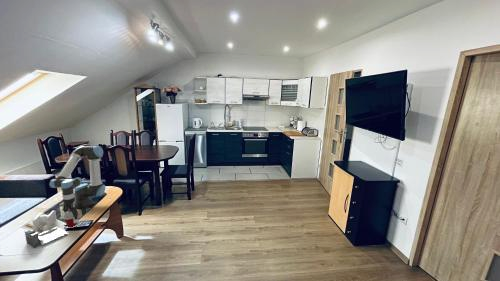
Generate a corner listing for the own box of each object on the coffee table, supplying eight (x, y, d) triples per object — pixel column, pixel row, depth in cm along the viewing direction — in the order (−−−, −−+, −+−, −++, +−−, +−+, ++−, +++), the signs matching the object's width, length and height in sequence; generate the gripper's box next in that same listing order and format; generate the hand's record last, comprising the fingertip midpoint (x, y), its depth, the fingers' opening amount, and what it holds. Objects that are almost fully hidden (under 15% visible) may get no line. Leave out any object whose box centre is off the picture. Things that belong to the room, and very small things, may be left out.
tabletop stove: (58, 228, 183) (56, 215, 181) (68, 234, 176) (67, 221, 174) (23, 242, 164) (21, 228, 161) (34, 250, 157) (32, 235, 155)
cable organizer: (49, 230, 180) (47, 217, 178) (33, 232, 176) (31, 220, 174) (57, 220, 194) (55, 209, 192) (42, 222, 190) (40, 211, 188)
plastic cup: (64, 232, 178) (62, 219, 176) (64, 226, 186) (62, 214, 184) (80, 228, 185) (79, 215, 183) (80, 222, 193) (78, 210, 191)
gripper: (55, 196, 182) (58, 218, 186) (71, 203, 172) (74, 226, 176) (66, 193, 189) (68, 214, 193) (82, 199, 179) (84, 222, 183)
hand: (71, 220), depth 184 cm, fingers open, 13 cm apart
